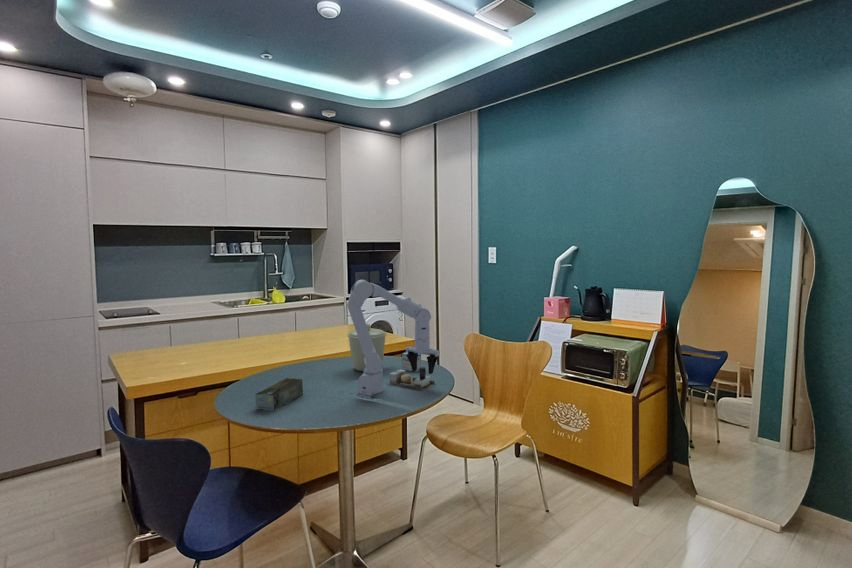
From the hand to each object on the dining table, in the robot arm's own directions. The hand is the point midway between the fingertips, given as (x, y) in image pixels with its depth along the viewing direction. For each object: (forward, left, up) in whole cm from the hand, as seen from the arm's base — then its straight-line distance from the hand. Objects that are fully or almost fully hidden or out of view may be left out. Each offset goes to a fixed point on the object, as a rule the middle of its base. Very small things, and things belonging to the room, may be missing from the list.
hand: (422, 372), depth 178 cm
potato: (0, +8, -6) cm, 10 cm away
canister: (+13, +39, -7) cm, 41 cm away
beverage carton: (-38, +38, -8) cm, 54 cm away
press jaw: (0, 0, -5) cm, 5 cm away
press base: (0, +6, -7) cm, 9 cm away
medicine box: (+18, +18, -7) cm, 26 cm away
